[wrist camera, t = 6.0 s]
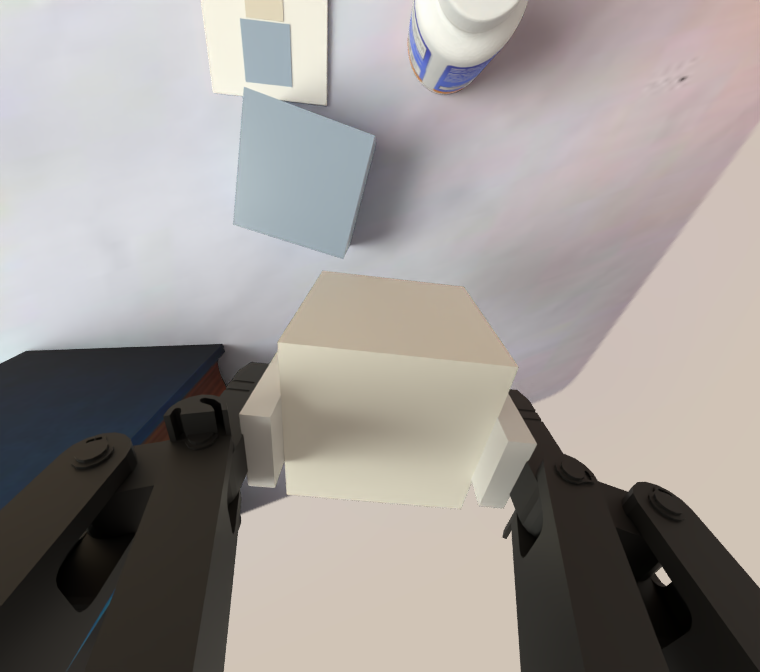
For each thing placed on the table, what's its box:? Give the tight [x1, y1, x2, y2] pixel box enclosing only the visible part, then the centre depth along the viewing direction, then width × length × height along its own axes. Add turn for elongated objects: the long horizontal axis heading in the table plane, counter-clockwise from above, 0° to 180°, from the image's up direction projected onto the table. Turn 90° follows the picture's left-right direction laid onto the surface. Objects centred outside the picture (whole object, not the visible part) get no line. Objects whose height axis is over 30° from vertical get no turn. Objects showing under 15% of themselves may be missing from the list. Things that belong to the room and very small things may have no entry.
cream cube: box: [277, 271, 519, 509], centre depth 11 cm, size 6×6×6 cm
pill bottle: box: [408, 0, 528, 94], centre depth 16 cm, size 5×5×10 cm
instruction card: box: [201, 0, 328, 106], centre depth 19 cm, size 10×8×1 cm
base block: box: [233, 87, 376, 259], centre depth 22 cm, size 8×8×5 cm
